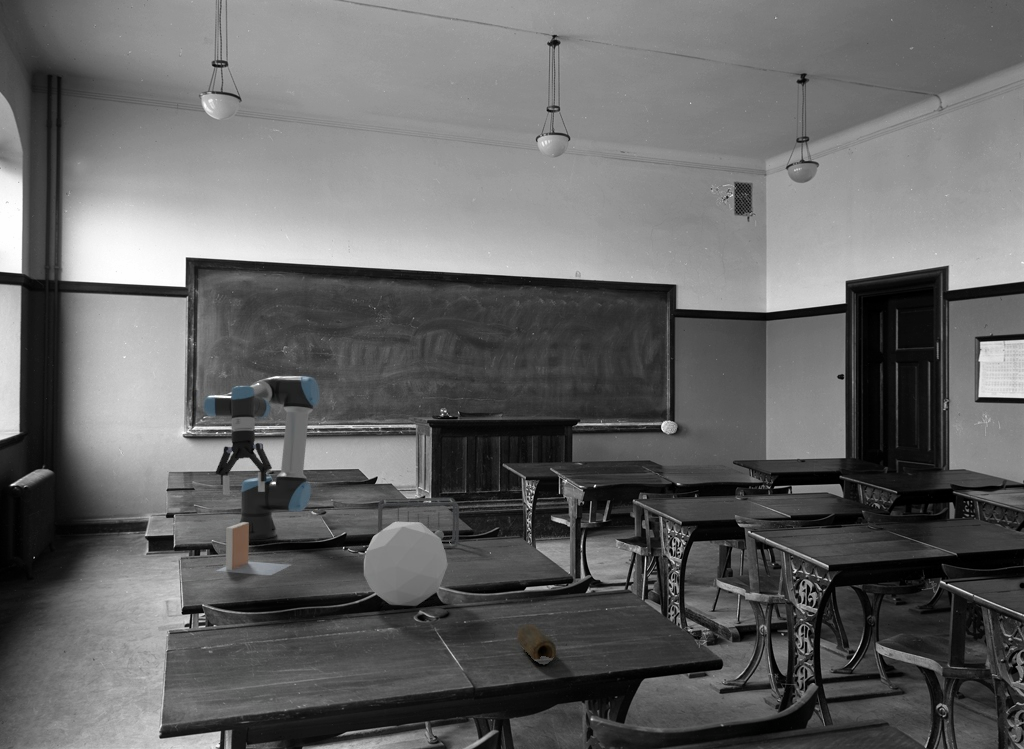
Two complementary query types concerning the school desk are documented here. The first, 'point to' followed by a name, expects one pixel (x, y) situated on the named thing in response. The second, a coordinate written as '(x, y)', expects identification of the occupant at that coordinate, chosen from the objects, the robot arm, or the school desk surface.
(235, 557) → the tile
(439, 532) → the newton's cradle
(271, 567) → the mat
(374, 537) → the geometric polyhedron
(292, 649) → the school desk surface
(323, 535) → the school desk surface
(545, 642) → the brown hollow tube
